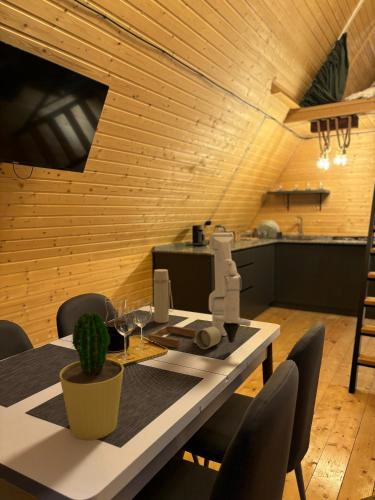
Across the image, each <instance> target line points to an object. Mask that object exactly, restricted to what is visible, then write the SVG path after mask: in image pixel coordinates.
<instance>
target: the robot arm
mask: <svg viewBox="0 0 375 500" xmlns="http://www.w3.org/2000/svg"><path fill="white" fill-rule="evenodd" d="M208 242H209V243H208V245H209V246H208V248H209V252H211V253H213V256H214V282H215V284H214V286H215V288H214V290H213V291H212V292H211V293H210V294H209V295H208V311H210V313H212V314H211V316H212V317H211V318H212V320H211V321H212V322H211V323H212V324H211V327H215V328H217V329H218V330H219V331H220V333H221V337H222V336H224V337H227V339H228V340H227V341H228V342H229V343H231V344H233V342H235V338H236V335H237V331H238V330H239V328H240V326H245V327H246V328H247V327H250V326H251V324H252V323H251V320H250V319H246V318H242V317H240V291H242V287H243V286H242V283H243V281H242V277H241V275H240V273H238V270H237V269H238V268H237V265H236V262H235V261H234V260H232V252H231V250H232V248H233V246H234V243H235V235H234V233H233V232H232V231H230V232H210V233H209V238H208Z"/></svg>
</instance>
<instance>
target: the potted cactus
mask: <svg viewBox="0 0 375 500" xmlns="http://www.w3.org/2000/svg"><path fill="white" fill-rule="evenodd" d="M100 314H101V313H100V312H99V311H97V312H96V311H95V312H84V313H83V314H81V312H80V313H79V315H80V316H79V317H78V316H77V317H76V318H75V320H76V322H74V325H73V327H71V328H72V333H71V336H70V338H71V340H69V342H70V343H71V344H72V346H71V348H70V349H69V351H71V349H73V350H74V353H76V352H77V353H78V354H77V356H78V360H79V361H74V362H72V363H70V364H68V365H66V366H65V367H63V368H62V369H61V370H60V372H59V378H60V379H59V380H60V384H61V385H60V386H61V389H62V394H63V400H64V404H65V409H66V415H67V420H68V424H69V429H70V432H71V434H72V436H73V437H75V438H76V439H80V440H84V441H85V440H88V441H89V440H98V439H101V438H104V437H107V436H108V435H110V434H112V432H114V431H115V430H116V427H117V424H118V417H119V407H120V400H121V392H122V384H123V376H124V371H125V370H124V369H125V367H124V365H123V363H121V362H120V361H118V360H116V359H111V358H107V357H106V356H107V352H110V351H111V350H110V349H108V347H109V345H111V346H112V343H110V342H111V339H110V338H111V336H110V334H111V332H110V333H108V331H110V330H111V329H109V328H107V325H106V324H107V321H105V322H104V320H105V316H101V315H100Z"/></svg>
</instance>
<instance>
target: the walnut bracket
mask: <svg viewBox="0 0 375 500" xmlns="http://www.w3.org/2000/svg"><path fill="white" fill-rule="evenodd" d="M168 333H169V334H175V335H178V336H179V335H180V336H185V337H191V338H195V337H196V333H197V329H195V328H188V327H187V328H186V327H183V326H182V327H181V326H177V325H176V326H175V325H171V324H170V325H169V324H167V325H164V326H162V327H161V328H159V329H156V330H155V331H153V332H151V333H149V334H148V335H147V336H148V337H147V339H148V340H150V341H153V342H156V343H158V344H157V345H162V346H166V347H172V348H175V349H178V348H180V339H178V338H173V337H167V336H165V335H167V334H168ZM148 340H147V341H148ZM156 343H155V344H156Z"/></svg>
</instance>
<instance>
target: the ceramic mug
mask: <svg viewBox="0 0 375 500" xmlns="http://www.w3.org/2000/svg"><path fill="white" fill-rule="evenodd" d="M221 339H222V335H221V333H220V331H219V330H218V329H217V328H215V327H212V326H209V327H204V328H201V329H199V330H198V331H196V337H194V339H193V343H194V344H196V345H197V346H198V347H199V348H200V349H202V350H207V349H209V348H212V347H214V346H216V345H217V344H219V343H220V342H221Z"/></svg>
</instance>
